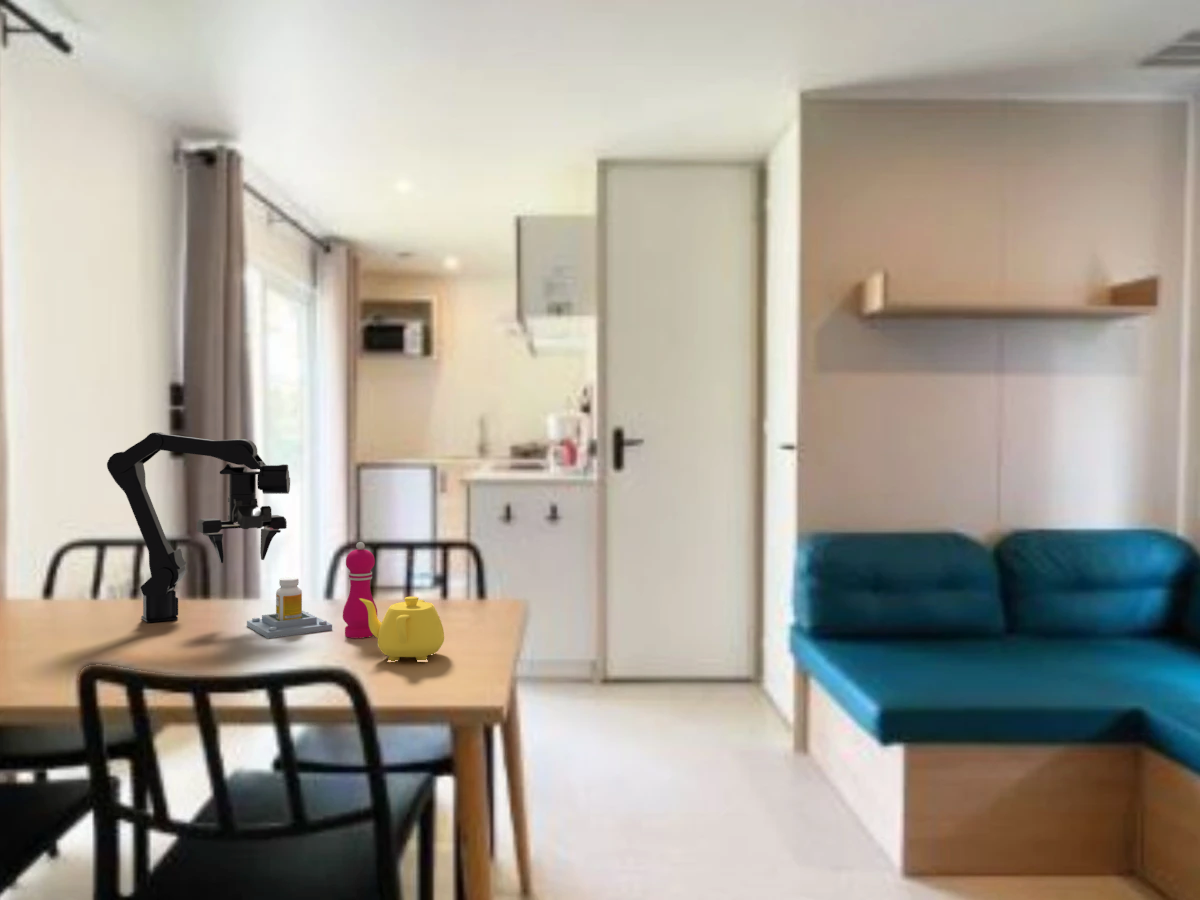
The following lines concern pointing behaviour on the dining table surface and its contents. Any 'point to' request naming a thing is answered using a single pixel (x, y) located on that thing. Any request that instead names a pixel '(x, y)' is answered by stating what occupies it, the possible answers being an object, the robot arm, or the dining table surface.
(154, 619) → the robot arm
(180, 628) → the dining table surface
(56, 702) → the dining table surface
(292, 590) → the supplement bottle
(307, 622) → the base plate
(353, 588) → the pepper mill
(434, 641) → the teapot
